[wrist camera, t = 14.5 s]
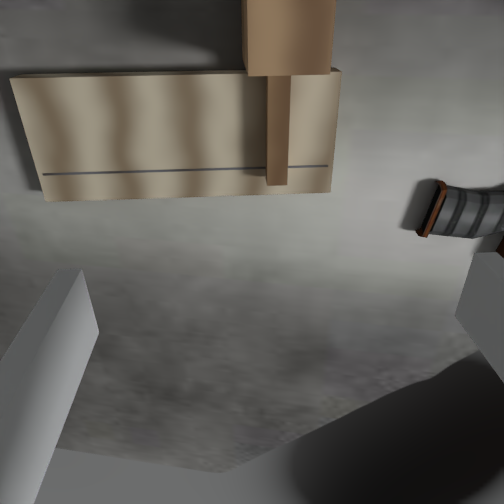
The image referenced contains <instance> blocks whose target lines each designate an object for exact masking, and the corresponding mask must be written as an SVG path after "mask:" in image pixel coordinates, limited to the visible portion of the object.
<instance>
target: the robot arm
mask: <svg viewBox="0 0 504 504" xmlns="http://www.w3.org/2000/svg"><path fill="white" fill-rule="evenodd" d="M455 317H456V318H457V320H458V321H459V322H460V324H461V325H462V326H463V328H464V329H465V331H466V332H467V333H468V335H469V336H470V337H471V339H472V340H473V341H474V343H475V344H476V346H477V347H478V348H479V350H480V351H481V352H482V354H483V355H484V356H485V358H486V359H487V361H488V362H489V363H490V365H491V366H492V367H493V369H494V370H495V371H496V372H497V374H498V375H499V377H500V378H501V380H502V381H503V382H504V258H502V257H501V256H500V255H499V254H498V253H497V252H484V253H474V256H473V259H472V262H471V265H470V269H469V272H468V275H467V278H466V281H465V284H464V288H463V291H462V294H461V297H460V300H459V303H458V306H457V310H456V313H455ZM98 334H99V330H98V326H97V323H96V319H95V315H94V312H93V308H92V304H91V300H90V297H89V293H88V289H87V286H86V282H85V278H84V275H83V271H82V269H58V270H57V272H56V273H55V275H54V276H53V278H52V280H51V281H50V283H49V284H48V286H47V288H46V289H45V291H44V292H43V294H42V296H41V297H40V299H39V300H38V302H37V304H36V305H35V307H34V308H33V310H32V312H31V313H30V315H29V316H28V318H27V320H26V321H25V323H24V324H23V326H22V328H21V329H20V331H19V332H18V334H17V336H16V337H15V339H14V340H13V342H12V343H11V345H10V347H9V348H8V350H7V351H6V353H5V355H4V356H3V358H2V359H1V361H0V504H34V501H35V499H36V496H37V493H38V491H39V488H40V486H41V483H42V480H43V478H44V475H45V473H46V470H47V467H48V465H49V462H50V460H51V457H52V454H53V452H54V449H55V446H56V444H57V441H58V439H59V436H60V433H61V431H62V428H63V425H64V423H65V420H66V418H67V415H68V412H69V410H70V407H71V405H72V402H73V399H74V397H75V394H76V391H77V389H78V386H79V384H80V381H81V378H82V376H83V373H84V370H85V368H86V365H87V363H88V360H89V357H90V355H91V352H92V350H93V347H94V344H95V342H96V339H97V336H98Z"/></svg>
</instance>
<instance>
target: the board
mask: <svg viewBox="0 0 504 504" xmlns="http://www.w3.org/2000/svg"><path fill="white" fill-rule="evenodd" d="M341 75H342V72H341V71H340V70H338V69H336V68H331V70H330V75H291V94H290V122H289V150H288V179H287V185H282V186H267V183H266V179H265V177H266V76H248V74H247V71H246V70H212V71H162V72H112V73H62V74H21V75H18V76H15V77H12V78H9V79H10V83H11V86H12V89H13V93H14V96H15V99H16V103H17V106H18V110H19V113H20V116H21V120H22V123H23V126H24V130H25V133H26V137H27V140H28V143H29V147H30V150H31V153H32V157H33V160H34V163H35V167H36V170H37V174H38V177H39V180H40V184H41V187H42V190H43V194H44V197H45V201H46V202H59V201H89V200H119V199H150V198H180V197H210V196H241V195H271V194H301V193H330V191H331V181H332V170H333V160H334V149H335V138H336V128H337V117H338V107H339V96H340V86H341Z"/></svg>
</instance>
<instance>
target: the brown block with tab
mask: <svg viewBox="0 0 504 504" xmlns="http://www.w3.org/2000/svg"><path fill="white" fill-rule="evenodd" d="M335 9H336V0H241V10H242V56H243V62H244V65H245V68H246V71H247V74H248V76H266V177H265V179H266V183H267V186H282V185H287V179H288V150H289V122H290V94H291V75H330V70H331V58H332V46H333V34H334V21H335Z"/></svg>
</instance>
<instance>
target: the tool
mask: <svg viewBox="0 0 504 504" xmlns="http://www.w3.org/2000/svg"><path fill="white" fill-rule="evenodd" d="M436 182H437V183H438V184H439V185H438V187H437V190H436V192H435V195H434V197H433V199H432V202H431V204H430V207H429V209H428V212H427V214H426V216H425V219H424V221H423V224H422V226H421V228H420V230H415V231H416V233H417V234H418V236H421V237H426V238H427V237H428V234H433V235H443V236H452V237H462V238H471V239H474V238H478V237H482V236H486V235H490V234H494V233H498V232H502V231H504V191H493V192H476V191H471V190H466V189H461V188H456V187H451V186H446V183H445V182H443V181H436ZM496 252H497V253H498V254H499V255H500V256H501V257H502V258H504V237H503V239H502V241H501V243H500V244H499V246H498V248H497V250H496Z"/></svg>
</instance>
